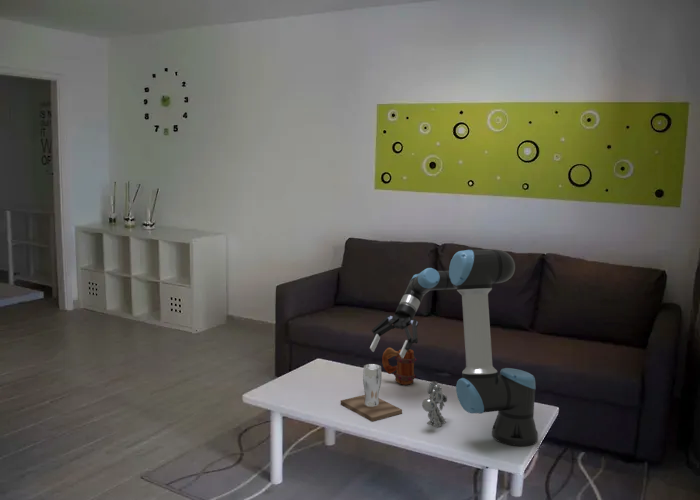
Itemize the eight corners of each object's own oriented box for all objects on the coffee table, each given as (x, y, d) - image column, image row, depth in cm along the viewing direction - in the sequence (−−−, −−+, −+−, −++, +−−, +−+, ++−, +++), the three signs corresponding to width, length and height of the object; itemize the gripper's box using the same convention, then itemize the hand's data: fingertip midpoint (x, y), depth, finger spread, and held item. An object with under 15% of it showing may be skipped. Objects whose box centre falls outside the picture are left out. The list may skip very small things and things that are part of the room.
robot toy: (433, 433, 221) (434, 391, 219) (417, 429, 224) (418, 388, 222) (450, 419, 233) (451, 380, 231) (434, 416, 236) (436, 376, 234)
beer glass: (359, 402, 244) (360, 364, 242) (376, 400, 246) (377, 363, 244) (366, 409, 237) (367, 370, 235) (383, 407, 240) (384, 368, 238)
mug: (415, 380, 275) (417, 346, 273) (416, 386, 267) (417, 351, 265) (381, 378, 277) (382, 344, 275) (380, 385, 269) (381, 350, 267)
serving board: (402, 413, 238) (402, 409, 238) (372, 421, 230) (372, 417, 230) (369, 397, 254) (369, 393, 254) (340, 404, 246) (340, 400, 246)
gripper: (437, 318, 253) (417, 364, 243) (384, 309, 267) (363, 352, 257) (431, 307, 248) (410, 353, 238) (378, 298, 262) (356, 342, 252)
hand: (386, 353), depth 247 cm, fingers open, 13 cm apart
